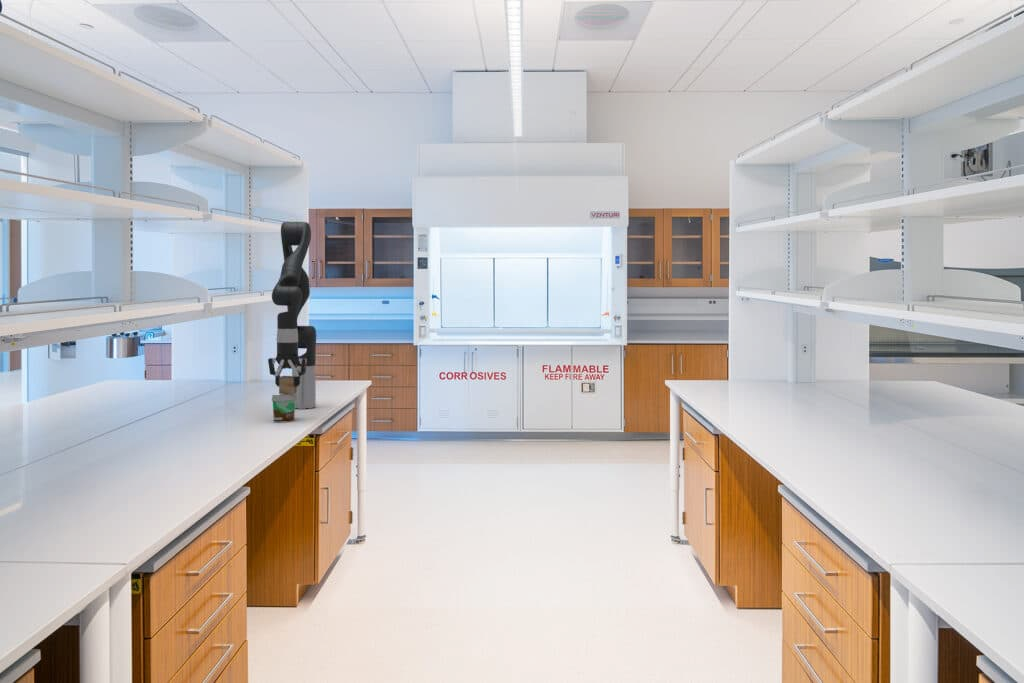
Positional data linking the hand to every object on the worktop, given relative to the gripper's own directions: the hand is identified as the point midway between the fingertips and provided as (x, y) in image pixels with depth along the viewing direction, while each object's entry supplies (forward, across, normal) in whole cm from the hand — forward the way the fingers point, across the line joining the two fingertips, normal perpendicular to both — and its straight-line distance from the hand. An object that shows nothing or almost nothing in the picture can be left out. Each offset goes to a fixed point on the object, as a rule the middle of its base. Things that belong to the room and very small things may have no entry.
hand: (287, 386), depth 290 cm
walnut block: (+2, 0, 0) cm, 2 cm away
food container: (+13, 0, 0) cm, 13 cm away
